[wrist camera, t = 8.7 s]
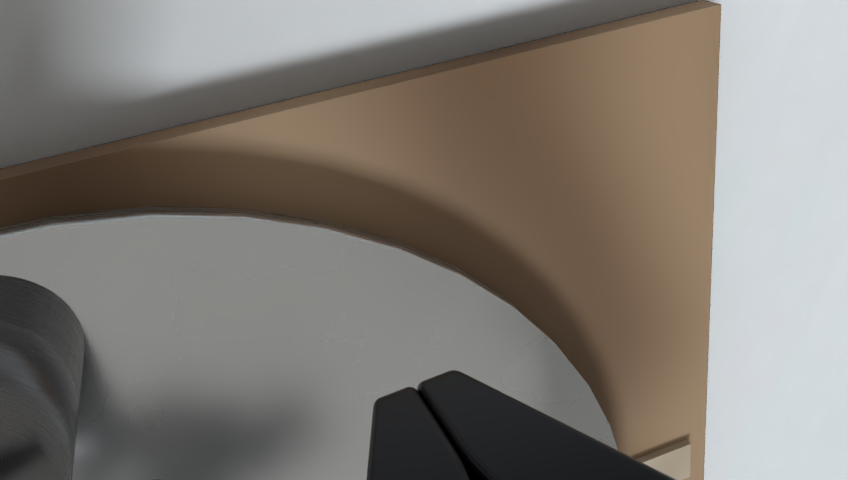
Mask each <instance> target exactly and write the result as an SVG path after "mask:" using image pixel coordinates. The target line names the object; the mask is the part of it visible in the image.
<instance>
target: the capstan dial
mask: <svg viewBox="0 0 848 480" xmlns="http://www.w3.org/2000/svg"><path fill="white" fill-rule="evenodd" d="M451 370H456V371H460V372H462V373H464V374H466V375H468V376H470V377H472V378H474V379H476V380H478V381H480V382H482V383H484V384H486V385H488V386H490V387H492V388H494V389H496V390H498V391H500V392H502V393H504V394H506V395H508V396H510V397H512V398H514V399H516V400H518V401H520V402H522V403H524V404H526V405H528V406H530V407H532V408H534V409H536V410H538V411H540V412H542V413H544V414H546V415H548V416H550V417H552V418H554V419H556V420H558V421H560V422H562V423H564V424H566V425H568V426H570V427H572V428H574V429H576V430H578V431H580V432H582V433H584V434H586V435H588V436H590V437H592V438H594V439H596V440H598V441H600V442H602V443H604V444H606V445H608V446H610V447H612V448H614V449H616V450H618V449H617V446H616V443H615V439H614V436H613V433H612V430H611V427H610V424H609V422H608V420H607V419H606V417H605V415H604V413H603V411H602V409H601V407H600V406H599V404H598V402H597V400H596V398H595V396H594V394H593V392H592V391H591V389H590V387H589V385H588V384H587V382H586V381H585V380H584V379H583V377H582V376H581V375H580V374H579V372H578V371H577V370H576V369H575V367H574V366H573V365H572V364H571V362H570V361H569V360H568V359H567V357H566V356H565V355H564V354H563V352H562V351H561V350H560V349H559V347H558V346H557V345H556V344H555V343H554V342H553V341H552V340H551V339H550V337H549V336H548V335H547V334H546V333H545V332H544V331H543V330H542V329H541V328H539V327H538V326H537V325H536V324H535V323H534V322H533V321H531V320H530V319H529V318H528V317H527V316H526V315H525V314H523V313H522V312H521V311H520V310H519V309H518V308H517V307H516V306H514V305H513V304H512V303H511V302H510V301H509V300H508V299H506V298H505V297H504V296H502V295H501V294H499V293H498V292H496V291H494V290H493V289H491V288H490V287H488V286H486V285H485V284H483V283H482V282H480V281H478V280H477V279H475V278H473V277H472V276H470V275H469V274H467V273H465V272H464V271H462V270H461V269H459V268H457V267H456V266H454V265H452V264H450V263H447V262H445V261H443V260H440V259H438V258H436V257H433V256H431V255H429V254H426V253H424V252H422V251H420V250H417V249H415V248H413V247H410V246H408V245H406V244H403V243H401V242H399V241H396V240H394V239H391V238H387V237H384V236H380V235H376V234H373V233H369V232H365V231H362V230H358V229H355V228H351V227H347V226H344V225H340V224H336V223H333V222H329V221H326V220H322V219H315V218H308V217H301V216H294V215H287V214H280V213H272V212H265V211H258V210H251V209H244V208H217V207H167V206H147V207H136V208H126V209H115V210H105V211H94V212H84V213H73V214H63V215H53V216H48V217H44V218H39V219H34V220H29V221H25V222H20V223H15V224H10V225H6V226H1V227H0V480H366V479H367V468H368V457H369V446H370V435H371V424H372V413H373V405H374V403H375V401H376V400H377V399H378V398H380V397H382V396H385V395H388V394H390V393H393V392H395V391H398V390H401V389H403V388H406V387H413V388H415V389H416V390H417V387H418V385H419V383H420V382H422V381H424V380H427V379H429V378H432V377H434V376H437V375H440V374H442V373H445V372H447V371H451Z"/></svg>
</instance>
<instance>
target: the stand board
mask: <svg viewBox="0 0 848 480" xmlns="http://www.w3.org/2000/svg"><path fill="white" fill-rule="evenodd" d="M720 21H721V4H717V3H713V2H708V1H704V0H701V1H697V2H693V3H688V4H684V5H680V6H676V7H672V8H668V9H663V10H659V11H655V12H651V13H647V14H643V15H639V16H634V17H630V18H626V19H622V20H618V21H614V22H609V23H605V24H601V25H597V26H593V27H589V28H584V29H580V30H576V31H572V32H568V33H564V34H560V35H555V36H551V37H547V38H543V39H539V40H535V41H530V42H526V43H522V44H518V45H514V46H510V47H505V48H501V49H497V50H493V51H489V52H485V53H481V54H476V55H472V56H468V57H464V58H460V59H456V60H451V61H447V62H443V63H439V64H435V65H431V66H426V67H422V68H418V69H414V70H410V71H406V72H402V73H397V74H393V75H389V76H385V77H381V78H377V79H372V80H368V81H364V82H360V83H356V84H352V85H347V86H343V87H339V88H335V89H331V90H327V91H323V92H318V93H314V94H310V95H306V96H302V97H298V98H293V99H289V100H285V101H281V102H277V103H273V104H268V105H264V106H260V107H256V108H252V109H248V110H244V111H239V112H235V113H231V114H227V115H223V116H219V117H214V118H210V119H206V120H202V121H198V122H194V123H189V124H185V125H181V126H177V127H173V128H169V129H165V130H160V131H156V132H152V133H148V134H144V135H140V136H135V137H131V138H127V139H123V140H119V141H115V142H110V143H106V144H102V145H98V146H94V147H90V148H86V149H81V150H77V151H73V152H69V153H65V154H61V155H56V156H52V157H48V158H44V159H40V160H36V161H31V162H27V163H23V164H19V165H15V166H11V167H7V168H2V169H0V227H1V226H6V225H10V224H15V223H20V222H25V221H29V220H34V219H39V218H44V217H48V216H53V215H63V214H73V213H84V212H94V211H105V210H115V209H126V208H136V207H147V206H167V207H217V208H244V209H251V210H258V211H265V212H272V213H280V214H287V215H294V216H301V217H308V218H315V219H322V220H326V221H329V222H333V223H336V224H340V225H344V226H347V227H351V228H355V229H358V230H362V231H365V232H369V233H373V234H376V235H380V236H384V237H387V238H391V239H394V240H396V241H399V242H401V243H403V244H406V245H408V246H410V247H413V248H415V249H417V250H420V251H422V252H424V253H426V254H429V255H431V256H433V257H436V258H438V259H440V260H443V261H445V262H447V263H450V264H452V265H454V266H456V267H457V268H459V269H461V270H462V271H464V272H465V273H467V274H469V275H470V276H472V277H473V278H475V279H477V280H478V281H480V282H482V283H483V284H485V285H486V286H488V287H490V288H491V289H493V290H494V291H496V292H498V293H499V294H501V295H502V296H504V297H505V298H506V299H508V300H509V301H510V302H511V303H512V304H513V305H514V306H516V307H517V308H518V309H519V310H520V311H521V312H522V313H523V314H525V315H526V316H527V317H528V318H529V319H530V320H531V321H533V322H534V323H535V324H536V325H537V326H538V327H539V328H541V329H542V330H543V331H544V332H545V333H546V334H547V335H548V336H549V337H550V339H551V340H552V341H553V342H554V343H555V344H556V345H557V346H558V347H559V349H560V350H561V351H562V352H563V354H564V355H565V356H566V357H567V359H568V360H569V361H570V362H571V364H572V365H573V366H574V367H575V369H576V370H577V371H578V372H579V374H580V375H581V376H582V377H583V379H584V380H585V381H586V382H587V384H588V385H589V387H590V389H591V391H592V392H593V394H594V396H595V398H596V400H597V402H598V404H599V406H600V407H601V409H602V411H603V413H604V415H605V417H606V419H607V420H608V422H609V424H610V427H611V430H612V433H613V436H614V439H615V443H616V446H617V449H618V451H620V452H622V453H624V454H626V455H628V456H630V457H632V458H634V459H636V460H638V461H640V462H642V463H644V464H646V465H648V466H650V467H652V468H654V469H656V470H658V471H660V472H662V473H664V474H666V475H668V476H670V477H672V478H674V479H676V480H704V455H705V428H706V401H707V374H708V347H709V320H710V293H711V265H712V238H713V211H714V184H715V157H716V130H717V103H718V75H719V48H720Z"/></svg>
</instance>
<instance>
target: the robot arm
mask: <svg viewBox="0 0 848 480" xmlns="http://www.w3.org/2000/svg"><path fill="white" fill-rule="evenodd" d="M366 480H676V479H674V478H672V477H670V476H668V475H666V474H664V473H662V472H660V471H658V470H656V469H654V468H652V467H650V466H648V465H646V464H644V463H642V462H640V461H638V460H636V459H634V458H632V457H630V456H628V455H626V454H624V453H622V452H620V451H618V450H616V449H614V448H612V447H610V446H608V445H606V444H604V443H602V442H600V441H598V440H596V439H594V438H592V437H590V436H588V435H586V434H584V433H582V432H580V431H578V430H576V429H574V428H572V427H570V426H568V425H566V424H564V423H562V422H560V421H558V420H556V419H554V418H552V417H550V416H548V415H546V414H544V413H542V412H540V411H538V410H536V409H534V408H532V407H530V406H528V405H526V404H524V403H522V402H520V401H518V400H516V399H514V398H512V397H510V396H508V395H506V394H504V393H502V392H500V391H498V390H496V389H494V388H492V387H490V386H488V385H486V384H484V383H482V382H480V381H478V380H476V379H474V378H472V377H470V376H468V375H466V374H464V373H462V372H460V371H456V370H451V371H447V372H445V373H442V374H440V375H437V376H434V377H432V378H429V379H427V380H424V381H422V382H420V383H419V385H418V387H417V390H416V389H415V388H413V387H406V388H403V389H401V390H398V391H395V392H393V393H390V394H388V395H385V396H382V397H380V398H378V399H377V400H376V401H375V403H374V405H373V413H372V424H371V435H370V446H369V457H368V468H367V479H366Z"/></svg>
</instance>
